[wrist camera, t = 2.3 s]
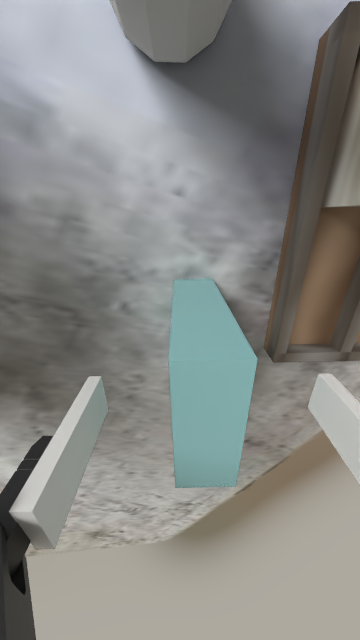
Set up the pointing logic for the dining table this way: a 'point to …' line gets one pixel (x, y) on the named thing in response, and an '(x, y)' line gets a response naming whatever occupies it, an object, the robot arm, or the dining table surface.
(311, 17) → the dining table surface
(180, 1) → the water bottle
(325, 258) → the track base
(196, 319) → the teal door
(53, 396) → the dining table surface
